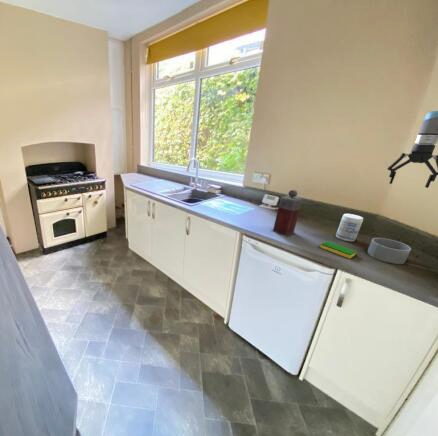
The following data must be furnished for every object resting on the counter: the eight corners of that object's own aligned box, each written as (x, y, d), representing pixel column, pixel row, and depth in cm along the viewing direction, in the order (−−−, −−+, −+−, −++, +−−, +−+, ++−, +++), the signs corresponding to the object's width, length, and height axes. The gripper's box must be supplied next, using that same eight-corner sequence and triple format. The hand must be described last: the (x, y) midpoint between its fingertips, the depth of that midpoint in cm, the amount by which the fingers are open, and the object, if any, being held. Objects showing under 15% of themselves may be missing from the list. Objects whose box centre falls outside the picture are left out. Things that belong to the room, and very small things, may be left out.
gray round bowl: (402, 255, 125) (408, 243, 122) (407, 267, 114) (413, 253, 111) (366, 247, 133) (371, 235, 131) (367, 257, 123) (372, 244, 120)
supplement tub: (343, 242, 139) (352, 219, 134) (331, 235, 148) (338, 213, 143) (359, 242, 140) (368, 219, 134) (346, 235, 149) (354, 213, 143)
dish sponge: (325, 244, 135) (327, 240, 135) (355, 255, 125) (356, 251, 124) (319, 247, 132) (321, 243, 131) (349, 258, 121) (351, 254, 120)
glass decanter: (295, 232, 152) (307, 190, 141) (286, 236, 146) (297, 192, 135) (281, 227, 158) (291, 187, 148) (272, 231, 153) (282, 189, 142)
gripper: (391, 143, 124) (377, 183, 131) (466, 145, 109) (444, 190, 117) (390, 142, 129) (376, 181, 137) (460, 145, 115) (440, 187, 122)
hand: (407, 185), depth 127 cm, fingers open, 13 cm apart
